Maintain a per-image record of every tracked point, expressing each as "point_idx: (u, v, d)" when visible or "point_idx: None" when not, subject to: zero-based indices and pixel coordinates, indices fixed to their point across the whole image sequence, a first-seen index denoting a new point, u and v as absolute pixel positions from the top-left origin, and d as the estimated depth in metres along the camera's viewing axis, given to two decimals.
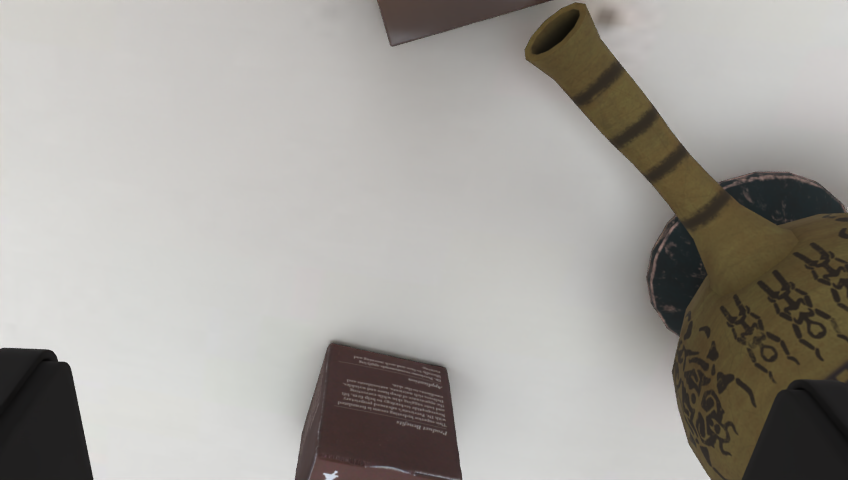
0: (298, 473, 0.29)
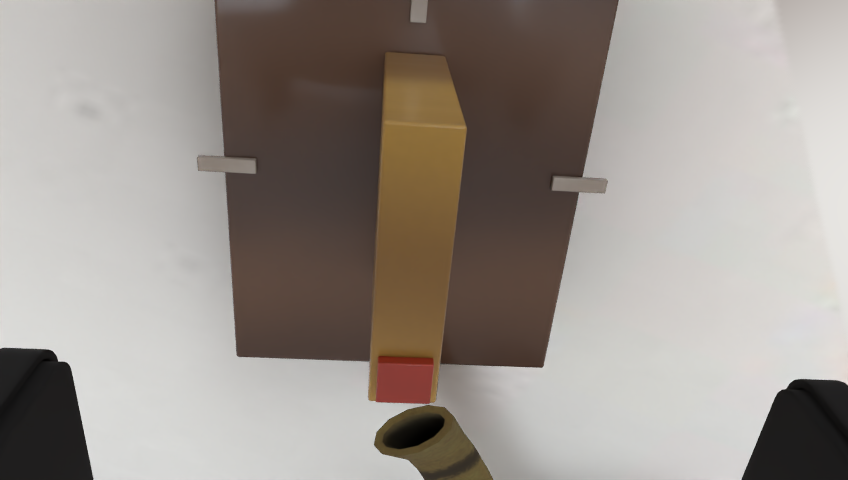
0: None
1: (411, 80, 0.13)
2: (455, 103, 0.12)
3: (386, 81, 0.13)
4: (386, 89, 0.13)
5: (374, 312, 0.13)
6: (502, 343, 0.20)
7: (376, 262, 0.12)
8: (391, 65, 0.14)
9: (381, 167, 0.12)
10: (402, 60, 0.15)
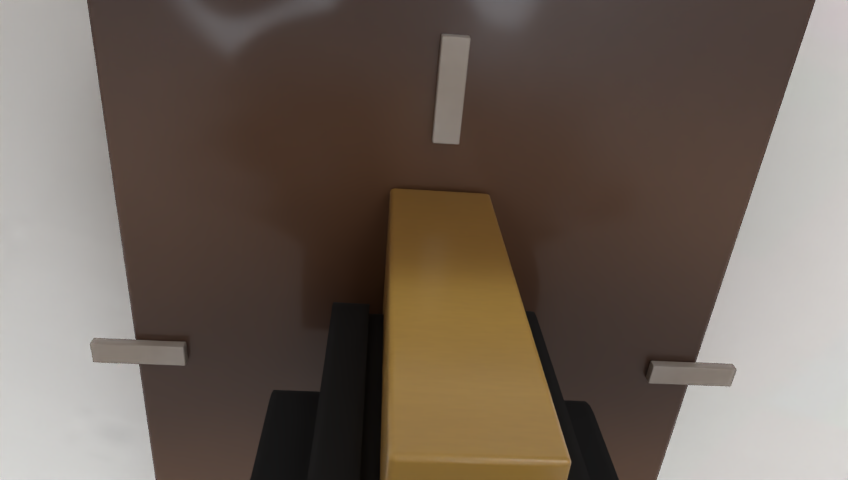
0: None
1: (439, 276, 0.07)
2: (532, 359, 0.06)
3: (393, 283, 0.07)
4: (393, 313, 0.07)
5: None
6: None
7: None
8: (401, 228, 0.08)
9: None
10: (420, 212, 0.09)
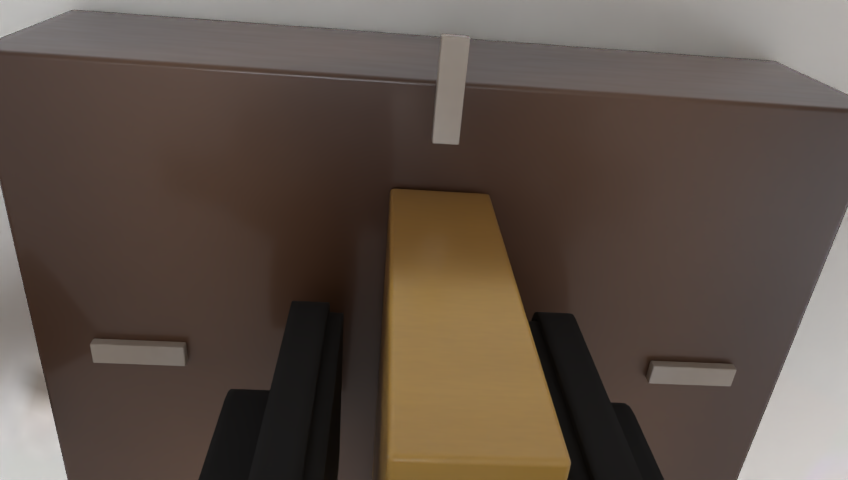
0: None
1: (439, 276, 0.07)
2: (531, 359, 0.06)
3: (393, 283, 0.07)
4: (393, 313, 0.07)
5: None
6: None
7: None
8: (401, 229, 0.08)
9: None
10: (420, 212, 0.09)
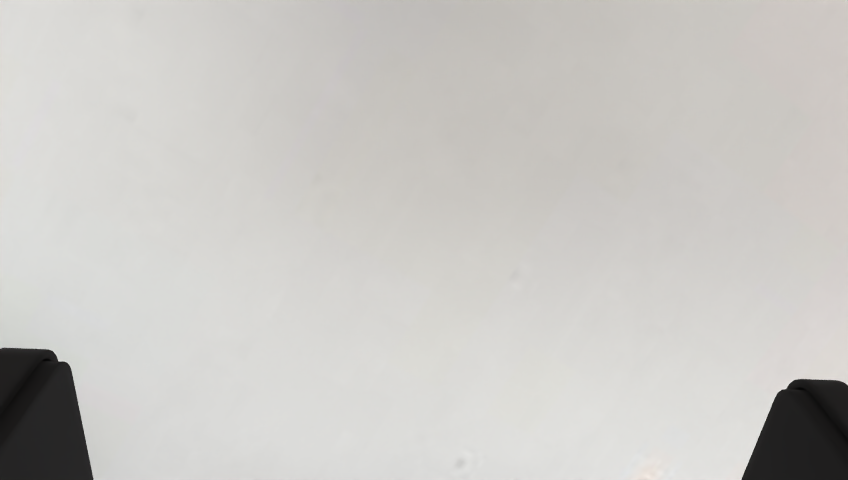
0: None
1: None
2: None
3: None
4: None
5: None
6: None
7: None
8: None
9: None
10: None
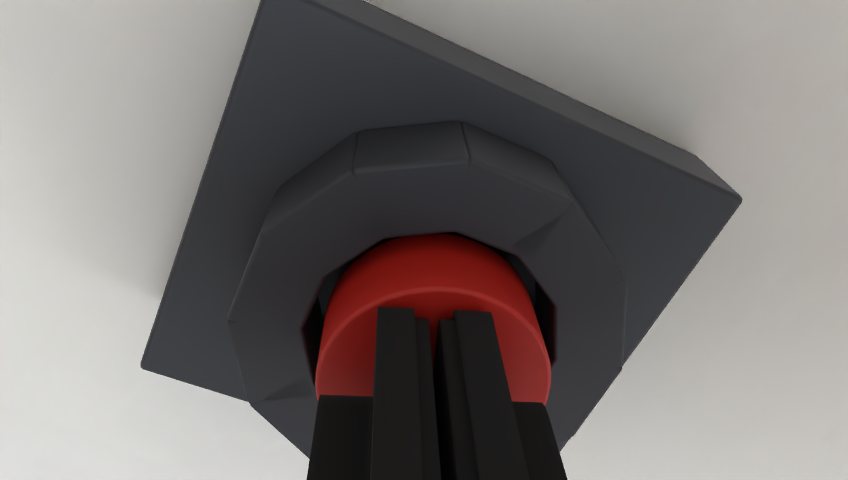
0: None
1: None
2: None
3: None
4: None
5: None
6: None
7: None
8: None
9: None
10: None
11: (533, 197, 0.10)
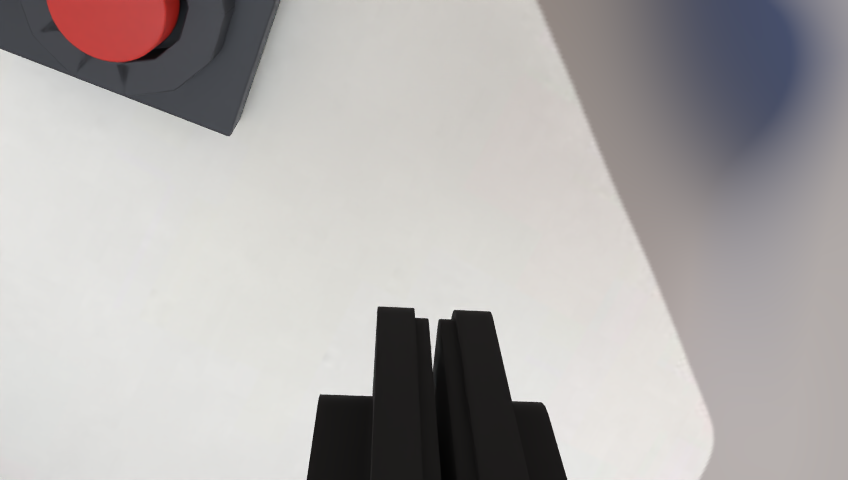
0: None
1: None
2: None
3: None
4: None
5: None
6: None
7: None
8: None
9: None
10: None
11: None
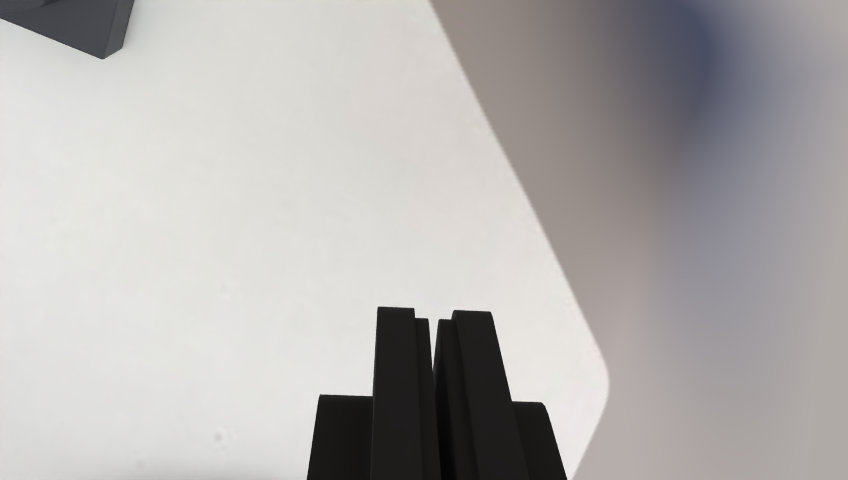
0: None
1: None
2: None
3: None
4: None
5: None
6: None
7: None
8: None
9: None
10: None
11: None
